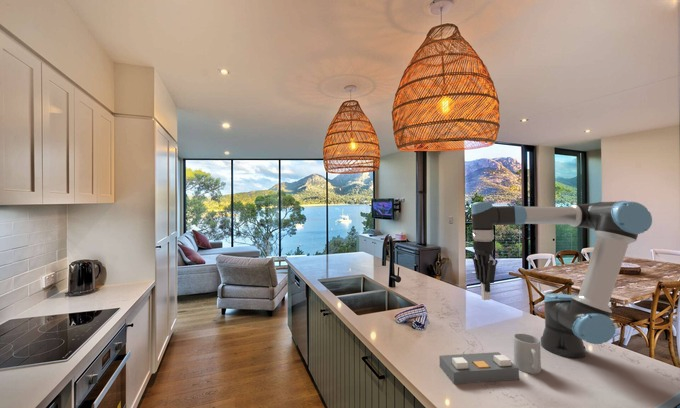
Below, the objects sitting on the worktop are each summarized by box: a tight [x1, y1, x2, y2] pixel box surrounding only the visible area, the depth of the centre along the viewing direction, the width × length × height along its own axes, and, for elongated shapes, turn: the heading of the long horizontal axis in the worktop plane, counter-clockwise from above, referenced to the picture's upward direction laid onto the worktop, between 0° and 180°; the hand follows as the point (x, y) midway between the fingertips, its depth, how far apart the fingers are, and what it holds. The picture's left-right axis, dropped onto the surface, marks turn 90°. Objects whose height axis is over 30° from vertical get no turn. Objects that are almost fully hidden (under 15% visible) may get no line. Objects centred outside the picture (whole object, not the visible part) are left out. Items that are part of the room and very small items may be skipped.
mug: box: [513, 333, 542, 375], centre depth 104 cm, size 12×8×11 cm
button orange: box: [473, 361, 490, 369], centre depth 100 cm, size 4×4×3 cm
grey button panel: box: [438, 351, 520, 385], centre depth 102 cm, size 24×11×6 cm, turn 95°
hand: (485, 299), depth 111 cm, fingers closed
